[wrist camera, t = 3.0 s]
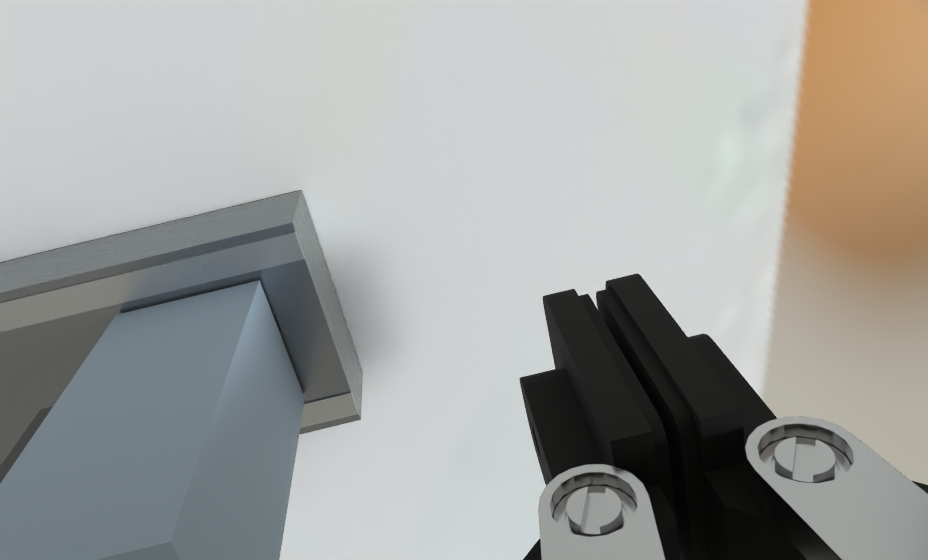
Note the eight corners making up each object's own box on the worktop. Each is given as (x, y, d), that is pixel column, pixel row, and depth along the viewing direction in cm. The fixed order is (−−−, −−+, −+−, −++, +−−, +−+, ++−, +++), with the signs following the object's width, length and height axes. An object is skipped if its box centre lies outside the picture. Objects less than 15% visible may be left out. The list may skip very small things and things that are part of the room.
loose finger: (87, 321, 15) (-132, 613, 8) (259, 280, 15) (170, 542, 8) (147, 435, 16) (-3, 761, 10) (304, 397, 16) (257, 698, 10)
